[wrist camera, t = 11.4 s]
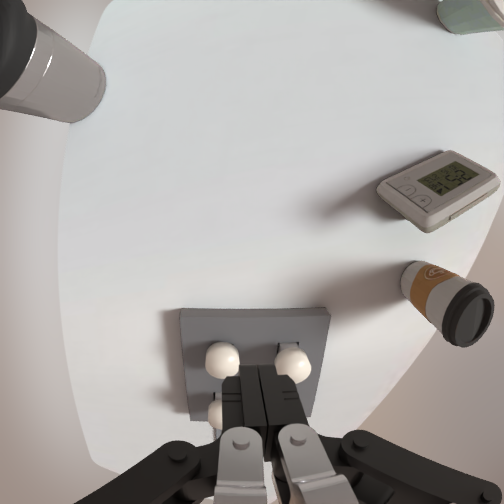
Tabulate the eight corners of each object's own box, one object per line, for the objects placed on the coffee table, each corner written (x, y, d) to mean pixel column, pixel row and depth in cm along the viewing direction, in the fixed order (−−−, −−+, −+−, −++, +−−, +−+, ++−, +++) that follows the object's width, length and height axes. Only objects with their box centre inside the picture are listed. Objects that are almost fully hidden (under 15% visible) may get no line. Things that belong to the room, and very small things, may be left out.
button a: (207, 355, 42) (206, 378, 37) (206, 330, 41) (204, 351, 36) (237, 355, 42) (239, 378, 37) (238, 330, 41) (240, 352, 36)
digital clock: (452, 149, 37) (499, 150, 27) (458, 204, 39) (504, 217, 29) (368, 162, 37) (412, 163, 26) (378, 226, 39) (421, 246, 29)
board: (191, 410, 45) (190, 420, 43) (181, 308, 40) (179, 316, 37) (307, 407, 47) (310, 416, 45) (325, 307, 42) (330, 315, 39)
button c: (270, 361, 41) (275, 385, 36) (272, 336, 40) (278, 358, 35) (299, 360, 42) (308, 382, 37) (303, 334, 41) (313, 356, 35)
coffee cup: (434, 247, 41) (500, 280, 27) (434, 294, 43) (491, 336, 29) (392, 261, 41) (455, 302, 26) (394, 309, 43) (447, 361, 29)
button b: (209, 405, 43) (208, 429, 38) (208, 385, 42) (207, 410, 37) (237, 405, 43) (239, 429, 38) (237, 385, 42) (239, 410, 37)
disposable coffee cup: (464, 9, 29) (514, -12, 15) (474, 55, 32) (532, 40, 18) (421, -12, 28) (470, -45, 14) (431, 35, 31) (491, 7, 17)
